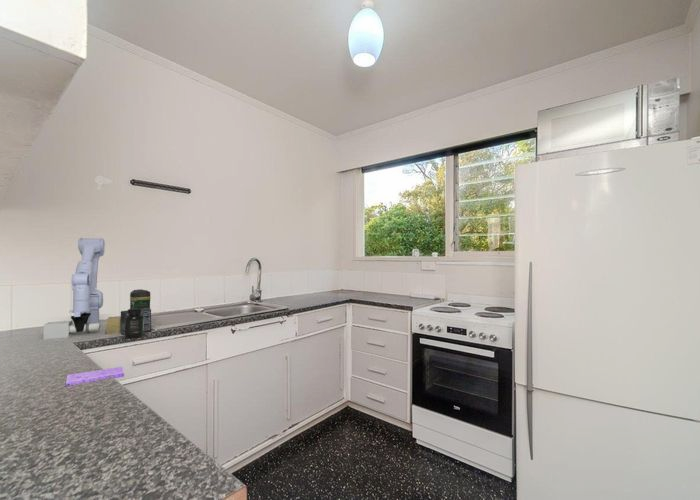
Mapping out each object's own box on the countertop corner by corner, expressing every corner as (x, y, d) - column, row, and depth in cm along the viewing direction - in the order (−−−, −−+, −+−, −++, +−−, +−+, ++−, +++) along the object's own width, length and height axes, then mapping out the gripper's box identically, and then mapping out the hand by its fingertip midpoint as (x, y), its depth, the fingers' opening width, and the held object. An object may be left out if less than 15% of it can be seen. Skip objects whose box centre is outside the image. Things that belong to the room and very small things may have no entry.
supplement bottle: (147, 335, 141) (147, 307, 142) (135, 338, 135) (136, 310, 135) (132, 334, 142) (133, 307, 142) (120, 338, 135) (121, 309, 136)
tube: (44, 337, 134) (44, 327, 135) (47, 335, 138) (47, 325, 138) (98, 332, 143) (98, 322, 143) (100, 330, 147) (100, 321, 147)
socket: (105, 334, 143) (106, 319, 144) (108, 331, 150) (108, 317, 150) (119, 332, 146) (119, 318, 146) (121, 329, 152) (121, 316, 152)
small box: (145, 329, 152) (146, 307, 153) (151, 331, 148) (152, 308, 149) (119, 334, 144) (120, 310, 144) (125, 336, 140) (125, 311, 140)
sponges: (67, 381, 89) (67, 374, 89) (123, 371, 96) (123, 365, 96) (65, 389, 83) (65, 382, 83) (124, 378, 91) (124, 371, 91)
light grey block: (43, 339, 133) (43, 324, 134) (48, 336, 139) (48, 322, 139) (68, 337, 137) (68, 322, 138) (72, 334, 143) (72, 320, 143)
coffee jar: (152, 327, 158) (152, 289, 159) (133, 329, 152) (134, 290, 153) (145, 324, 165) (146, 288, 165) (127, 327, 159) (127, 289, 159)
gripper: (74, 298, 147) (73, 328, 146) (65, 302, 134) (64, 335, 134) (93, 298, 150) (92, 327, 150) (86, 301, 138) (85, 333, 137)
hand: (80, 330), depth 142 cm, fingers closed on tube, 3 cm apart
